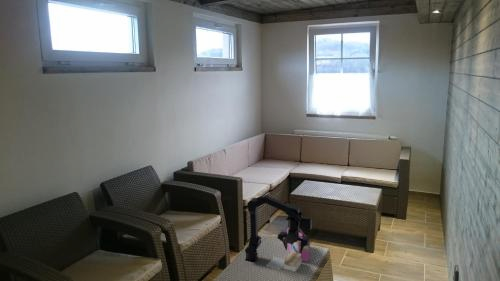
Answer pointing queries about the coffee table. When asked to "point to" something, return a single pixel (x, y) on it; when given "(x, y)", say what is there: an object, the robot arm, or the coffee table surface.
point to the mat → (276, 263)
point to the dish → (292, 267)
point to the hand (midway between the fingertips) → (293, 251)
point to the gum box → (296, 247)
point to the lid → (292, 259)
